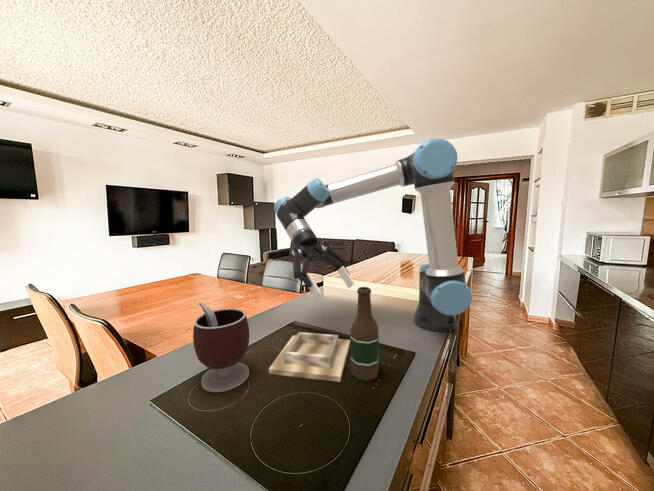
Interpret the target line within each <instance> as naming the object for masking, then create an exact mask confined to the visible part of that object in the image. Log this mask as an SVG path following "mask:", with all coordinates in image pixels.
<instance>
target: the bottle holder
mask: <svg viewBox="0 0 654 491" xmlns="http://www.w3.org/2000/svg"><path fill="white" fill-rule="evenodd" d="M349 350H350V339H346V338H345V339H344V338H339V334H329V333H328V334H327V333H317V332H316V333H315V332H305V331H304V332H302V331H299V332H297V334H296V335H292V336H291V337H290V339H289V340H288V342H287V343H286V344H285V345H284V347H283V348H282V350H281V351H280V353H279V354H278V355H277V357H276V358H275V359H274V361H273V362H272V364H271V365H270V366H269V367H268V374H269V375H276V376H284V377H293V378H302V379H311V380H319V381H329V382H338V383H341V381H342V378H343V377H342V376H343V373H344V369H345V366H346V362H347V357H348V354H349Z"/></svg>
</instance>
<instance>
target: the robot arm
mask: <svg viewBox="0 0 654 491" xmlns="http://www.w3.org/2000/svg"><path fill="white" fill-rule="evenodd" d="M457 163H458V152H457V150H456V148H455V147H454V145H453V144H452V143H451V142H450V141H449V140H446V139H444V138H438V137H437V138H430V139H427V140H426V141H423V142H422V143H420V144H419V145H418V146H417V148H416V149H415V150H414V152H413V153H411V154H410V155H408V156H406V157H403V158H401V159H398V160H396V162H395V163H394V164H391V165H387V166H384V167H381V168H379V169H375V170H371V171H368V172H365V173H361V174H358V175H355V176H351V177H347V178H345V179H342V180H338V181H335V182H330V183H328V184H324V183H323V181H322V180H321V179H320V178H317V177H316V178H314V179H313V180H312V181H309V182H308V183H307V184H306V185H305V186H304V187H303V188H302V189H301V190H300V191H299V192H298V193H296V194H295V195H294V196H293V197H292V198H291V197H289V196H283V197H282V198H279V199H278V200H276V201H275V203H274V205H273V211H274V213H275V215H276V217H277V219H278V221H279V222H280V224H281V225H282V227H283V229H284V230H285V232H286V234H287V235H288V237H289V239H290V241H291V242H292V244H293V245H294V247H293V249H292V251H291V252H290V255H291V257H292V265H293V266H292V267H293V278H294V279H295V280H298V281H300V282H303V283H304V286H305V287H306V289H309V291H310V293H311V294H312V295H313V298H314V299H318V298H319V296H320V295H321V294H322V291H321V290H320V288H319V286H318V285H317V282H316V281H315V279H314V278H313V276H312V275H311V274H310V273H308V272H309V267H310V262H313V261H318V260H319V261H321V262H325V263H326V264H328V265H330V266H331V267H332V268H333V267H334V268H335V269H337V272H338V274H339V276H340V277H341V279H342V280H343V282H344V284H345V285H346V287H347V288H348V289H350V288H351V287H352V286H353V285H354V284H355V281H354V280H353V278H352V276H351V274H350V272H349V271H348V269H347V268H346V265H347V264H348V261H347V259H345V258H343V257H342V256H341V255H340V254H339V253H337V252H336V250H334V249H332V248H331V247H330V245H329V244H328V243H324V244H323V245H321V244H320V243H319V241H318V237H317V236H316V234H315V232H314V231H313V230H312V227H311V226H310V224H309V223H308V222H307V221H306V219H305V217H306V216H308V215H309V214H310V213H311V212H312V211H313V210H314V209H316V208H317V209H321V208H325V207H326V206H327V207H328V206H330V205H333V204H336V203H340V202H344V201H347V200H352V199H354V198H358V197H363V196H365V195H368V194H373V193H375V192H380V191H382V190H386V189H390V188H393V187H397V186H401V187H407V186H411V185H413V186H414V190H415V191H416V192H417V193H418V194H420V199H421V200H420V201H421V208H422V209H421V210H422V216H423V226H424V232H425V242H426V248H427V249H426V250H427V257H428V258H427V259H428V264H427V263H426V264H425V263H424V264H421V265H420V267H419V272H418V274H419V278H418V280H419V283H418V285H419V286H418V288H419V289H418V291H419V292H418V304H417V307H416V309H415V312H414V315H413V323H414V325H416V326H418V327H419V328H421V329H423V330H428V331H431V332H440V333H441V332H442V333H443V332H451V331H454V330H455V329H456V328H457V318H456V315H460V314H462V313H464V312H465V311H466V310H467V309H468V308H469V307H470V306H471V303H472V301H473V294H472V291H471V289H470V286H468V285H467V283H466V273H465V268H464V267H462V266H461V265H460V264H459V260H458V250H457V241H456V231H455V224H454V213H453V205H452V204H453V203H452V197H451V188H452V186H453V185H454V184H455V183H456V182H455V172H454V171H455V168H456V166H457ZM301 256H302V257H303V261H302V264H301ZM301 265H302V267H301Z"/></svg>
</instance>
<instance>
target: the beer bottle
mask: <svg viewBox="0 0 654 491" xmlns="http://www.w3.org/2000/svg"><path fill="white" fill-rule="evenodd" d="M356 293H357V310H356V311H357V313H356V317H355V319H354V321H353V322H352V324H351V327H350V334H349V338H350V339H349V340H350V346H349V350H350V373H351V374H352V376H354V378H356V379H357V380H359V381H366V382H369V381H370V382H371V381H372V380H375V379H377V378H378V375H379V366H380V363H379V362H380V356H379V354H380V353H379V352H380V351H379V350H380V346H379V345H380V344H379V342H380V341H379V340H380V339H379V336H380V334H379V332H380V331H379V326H378V323H377V321H376V320H375V319H374V316H373V314H372V302H371V301H372V300H371V293H372V290H371V288H370V287H367V286H360V287H358V288H357V292H356Z"/></svg>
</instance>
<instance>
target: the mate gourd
mask: <svg viewBox="0 0 654 491" xmlns="http://www.w3.org/2000/svg"><path fill="white" fill-rule="evenodd" d="M198 305H199V306H200V307H201V309H202V311H203V314H202V315H200V316H198V317H196V319H194V321H193V324H194V325H193V331H192V332H193V333H192V339H193V342H192V343H193V348H194V351H195V355H196V357H197V360H198V361H199V362H200V363H201V364H203V365H204V366H205V367H206V368H208V369H209V370H207V371H206V372H205V373H204V374H203V375H202V377H201V380H200V384H201V388H202V389H204V390H205V391H207V392H211V393H221V392H227V391H230V390H232V389H235V388H237V387H239V386H241V385H242V384H243V383H244V382H245V381H246V380H247V379H248V377H249V375H250V368H249V366H248V365H247V364H245V363H244V362H243V363H242V362H240V361H242V359H243V357H244V356H245V354H246V353H247V352H248V349H249V344H250V327H249V326H250V325H249V321H248V317H247V314H246V312H245V311H244V310H243V309H239V308H221V309H216V310H212V309H211V308H210V307H209V306H208V305H206V304H205V303H204V302H200V301H199V302H198Z"/></svg>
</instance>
